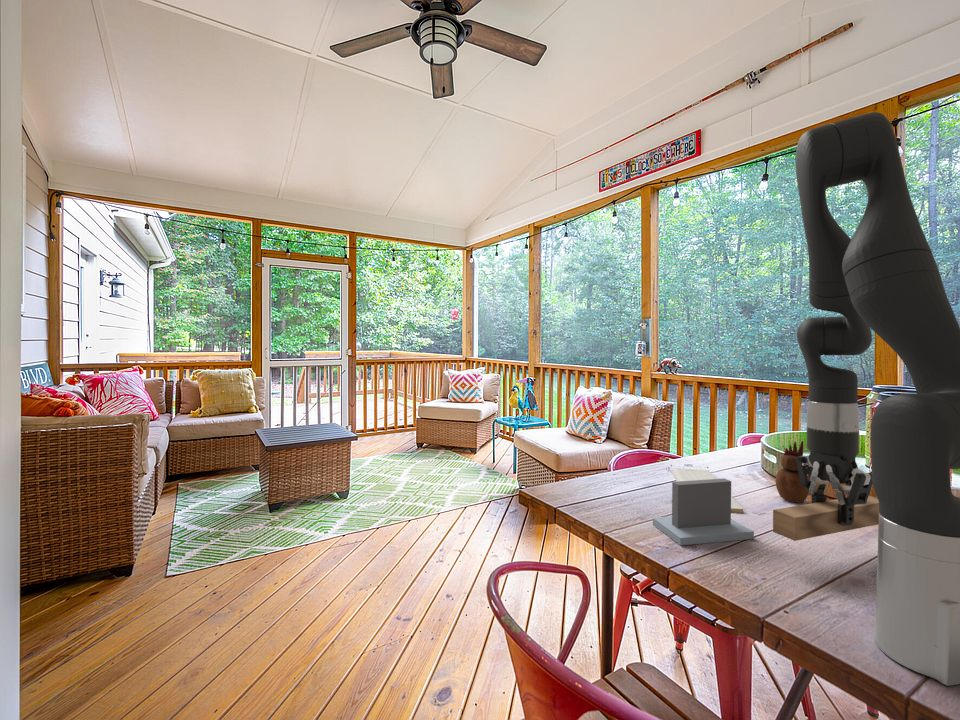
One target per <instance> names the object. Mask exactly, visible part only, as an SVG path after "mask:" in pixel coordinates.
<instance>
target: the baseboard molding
mask: <svg viewBox="0 0 960 720" xmlns="http://www.w3.org/2000/svg"><path fill="white" fill-rule="evenodd" d="M672 466H673V467H674V465H672V464H670V467H669V466H668V467H667V470H669V471H670V473H671V474H672V476H673V478H674V480H675V482H679V481H694V480H708V479H717V478H716V477H715V476H714V475H713V473H711V471H710V470H709V466H708V465H707V466H704V468H707V469H698V468H695V469H691V468H690V467H693V464H684V467H689V468H677V467H676V468H675V469H671V467H672ZM737 512H739V513H738V514H741V513H744V508H743V507H742V506H741V505H740V504H739V503H738V502H737V500H736V499H735V498H734V497H733V496H732V495H731V513H737Z"/></svg>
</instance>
